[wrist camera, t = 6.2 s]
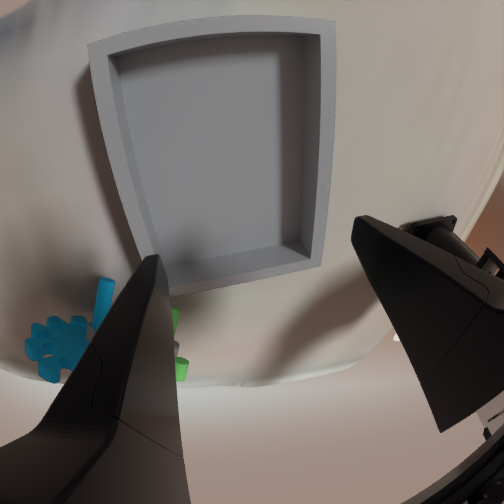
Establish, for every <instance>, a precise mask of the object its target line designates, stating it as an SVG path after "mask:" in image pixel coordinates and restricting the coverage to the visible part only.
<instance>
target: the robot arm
mask: <svg viewBox="0 0 504 504" xmlns="http://www.w3.org/2000/svg"><path fill="white" fill-rule="evenodd" d="M456 221H457V218H456V217H455V216H454V215H451V216H446V217H441V218H437V219H432V220H427V221H422V222H417V223H414V224H413V225H412V226H411V228H410V232H409V233H406V232H404V231H402V230H400V229H398V228H395V227H393V226H391V225H389V224H386V223H384V222H382V221H380V220H377V219H375V218H373V217H370V216H368V215H364V216H358V217H356V218H355V220H354V224H353V230H352V235H351V242H352V245H353V247H354V249H355V251H356V253H357V256H358V258H359V260H360V262H361V264H362V267H363V269H364V271H365V274H366V276H367V278H368V280H369V282H370V284H371V286H372V287H373V289H374V291H375V293H376V295H377V296H378V298H379V300H380V302H381V304H382V306H383V308H384V309H385V311H386V313H387V315H388V317H389V319H390V321H391V323H392V325H393V327H394V329H395V331H396V333H397V335H398V337H399V339H400V341H401V343H402V345H403V347H404V349H405V351H406V353H407V355H408V357H409V360H410V362H411V364H412V366H413V368H414V371H415V373H416V375H417V377H418V380H419V382H420V384H421V387H422V389H423V391H424V394H425V396H426V398H427V401H428V403H429V406H430V408H431V411H432V414H433V416H434V419H435V421H436V424H437V427H438V429H439V431H440V433H442V432H444V431H445V430H447V429H449V428H450V427H452V426H454V425H455V424H457V423H459V422H460V421H462V420H463V419H465V418H467V417H468V416H470V415H471V414H473V413H474V412H477V415H478V417H479V419H480V420H481V422H482V425H483V427H484V433H483V435H484V437H485V439H486V442H485V443H483V444H482V445H481V446H480V447H479V448H478V449H477V450H476V451H475V452H473V453H472V454H471V455H470V456H469V457H468V458H466V459H465V460H464V461H463V462H462V463H460V464H459V465H458V466H457V467H455V468H454V469H453V470H451V471H450V472H449V473H447V474H446V475H445V476H443V477H442V478H441V479H439V480H438V481H436V482H435V483H433V484H432V485H431V486H429V487H428V488H426V489H425V490H423V491H421V492H420V493H418V494H417V495H415V496H414V497H412V498H410V499H408V500H407V501H405V502H403V503H402V504H504V264H503V263H502V262H501V261H500V260H499V259H498V257H497V256H496V255H495V254H494V253H493V252H492V251H491V250H490V249H489V248H486V250H485V251H484V254H483V255H482V257H481V258H480V259H479V257H478V256H477V255H476V254H475V253H474V252H473V251H472V250H471V249H470V248H469V247H468V246H467V245H466V244H465V243H464V242H463V241H462V240H461V239H460V238H459V237H458V236H457V235H456V234H455V233H454V232H453V230H454V227H455V224H456ZM497 268H499V269H500V270H499V272H498V273H497V274H496V275H495V276H494V275H493V273H494V272H495V271H496V269H497ZM91 342H92V343H89V345H88V346H87V348H86V350H85V351H84V353H83V355H82V357H81V358H80V360H79V362H78V363H77V365H76V367H75V368H74V370H73V372H72V373H71V375H70V376H69V378H68V379H67V381H66V383H65V384H64V386H63V387H62V389H61V390H60V392H59V393H58V395H57V396H56V398H55V400H54V401H53V403H52V404H51V406H50V408H49V409H48V411H47V412H46V414H45V416H44V417H43V419H42V420H41V422H40V423H39V424H38V425H37V426H36V427H35V428H34V429H33V430H32V431H31V432H29V433H28V434H26V435H24V436H22V437H20V438H19V439H16V440H14V441H12V442H10V443H8V444H6V445H4V446H2V447H0V504H191V502H190V496H189V490H188V484H187V478H186V471H185V464H184V458H183V450H182V442H181V433H180V424H179V413H178V401H177V388H176V372H175V351H174V326H173V317H172V310H171V302H170V295H169V286H168V279H167V275H166V272H165V269H164V266H163V263H162V260H161V257H160V255H159V254H153V255H148V256H145V258H144V259H143V260H142V262H141V263H140V265H139V266H138V267H137V269H136V270H135V272H134V273H133V275H132V276H131V278H130V279H129V281H128V282H127V284H126V285H125V287H124V288H123V290H122V291H121V293H120V294H119V296H118V297H117V299H116V301H115V302H114V304H113V305H112V307H111V308H110V310H109V312H108V313H107V315H106V316H105V318H104V320H103V321H102V323H101V324H100V326H99V328H98V329H97V331H96V333H95V334H94V336H93V338H92V340H91ZM465 501H466V502H465Z"/></svg>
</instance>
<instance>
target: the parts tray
mask: <svg viewBox="0 0 504 504" xmlns="http://www.w3.org/2000/svg"><path fill="white" fill-rule="evenodd" d="M87 47H88V55H89V63H90V70H91V77H92V83H93V89H94V94H95V100H96V105H97V110H98V115H99V120H100V124H101V129H102V133H103V137H104V141H105V145H106V149H107V153H108V157H109V161H110V165H111V168H112V172H113V176H114V179H115V182H116V186H117V189H118V193H119V196H120V199H121V202H122V205H123V208H124V212H125V215H126V218H127V221H128V224H129V226H130V229H131V232H132V235H133V238H134V241H135V243H136V246H137V249H138V251H139V254H140V257H141V259H142V260H143V259H144V258H145V256H148V255H153V254H159V255H160V257H161V260H162V263H163V266H164V269H165V272H166V275H167V279H168V286H169V295H170V297H175V296H180V295H185V294H191V293H196V292H201V291H206V290H211V289H216V288H221V287H226V286H231V285H236V284H240V283H245V282H250V281H255V280H259V279H264V278H269V277H273V276H278V275H282V274H287V273H291V272H296V271H300V270H305V269H309V268H314V267H318V266H321V260H322V253H323V246H324V238H325V230H326V222H327V213H328V204H329V194H330V184H331V172H332V160H333V146H334V129H335V107H336V21H330V20H322V19H314V18H305V17H293V16H273V15H240V16H221V17H208V18H199V19H191V20H183V21H177V22H171V23H165V24H160V25H155V26H150V27H146V28H141V29H137V30H133V31H129V32H125V33H122V34H118V35H115V36H111V37H108V38H105V39H102V40H99V41H96V42H93V43H90V44H87Z"/></svg>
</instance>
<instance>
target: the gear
mask: <svg viewBox="0 0 504 504" xmlns="http://www.w3.org/2000/svg"><path fill="white" fill-rule="evenodd" d="M114 285H115V281H114V280H112V279H109V278H105V277H100V278H99V283H98V289H97V295H96V301H95V308H94V315H93V322H89V323H88V322H87V320H86V318H85V317H83V316H72V317H71V322H70V324H68V323H66V322H64V321H63V320H62V319H61V318H59V317H57V316H52V317H49V318H48V319H47V324H46V327H45V326H43V325H41V324H37V323H33V324H32V326H31V338H27V339H25V352H26V354H27V356H28V357H29V358H30V359H31V360H32V361H38V373H39V376H40V377H41V378H43V379H45V380H46V381H49V382H51V383H54V384H55V383H58V382H59V381H60V369H63V368H65V369H69V370H71V371H73V370H74V368H75V367H76V365H77V363H78V362H79V360H80V358H81V357H82V355H83V353H84V351H85V350H86V348H87V346H88V345H89V343H92V342H91V340H92V338H93V336H94V334H95V333H96V331H97V329H98V328H99V326H100V324H101V323H102V321H103V320H104V318H105V316H106V315H107V313H108V312H109V310H110V307H111V301H112V295H113V290H114ZM171 310H172V317H173V326H174V335H175V331H176V326H177V322H178V317H179V313H180V309H179V308H177V307H173V306H171ZM178 349H179V343H178V342H176V341H175V340H174V351H175V372H176V381H184V380H185V377H186V373H187V369H188V364H189V361H188V360H186V359H184V358H181V357H176V356H177V354H178ZM46 354H52V355H53V356H51V357H48V358H43V357H44V356H45V355H46Z"/></svg>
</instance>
